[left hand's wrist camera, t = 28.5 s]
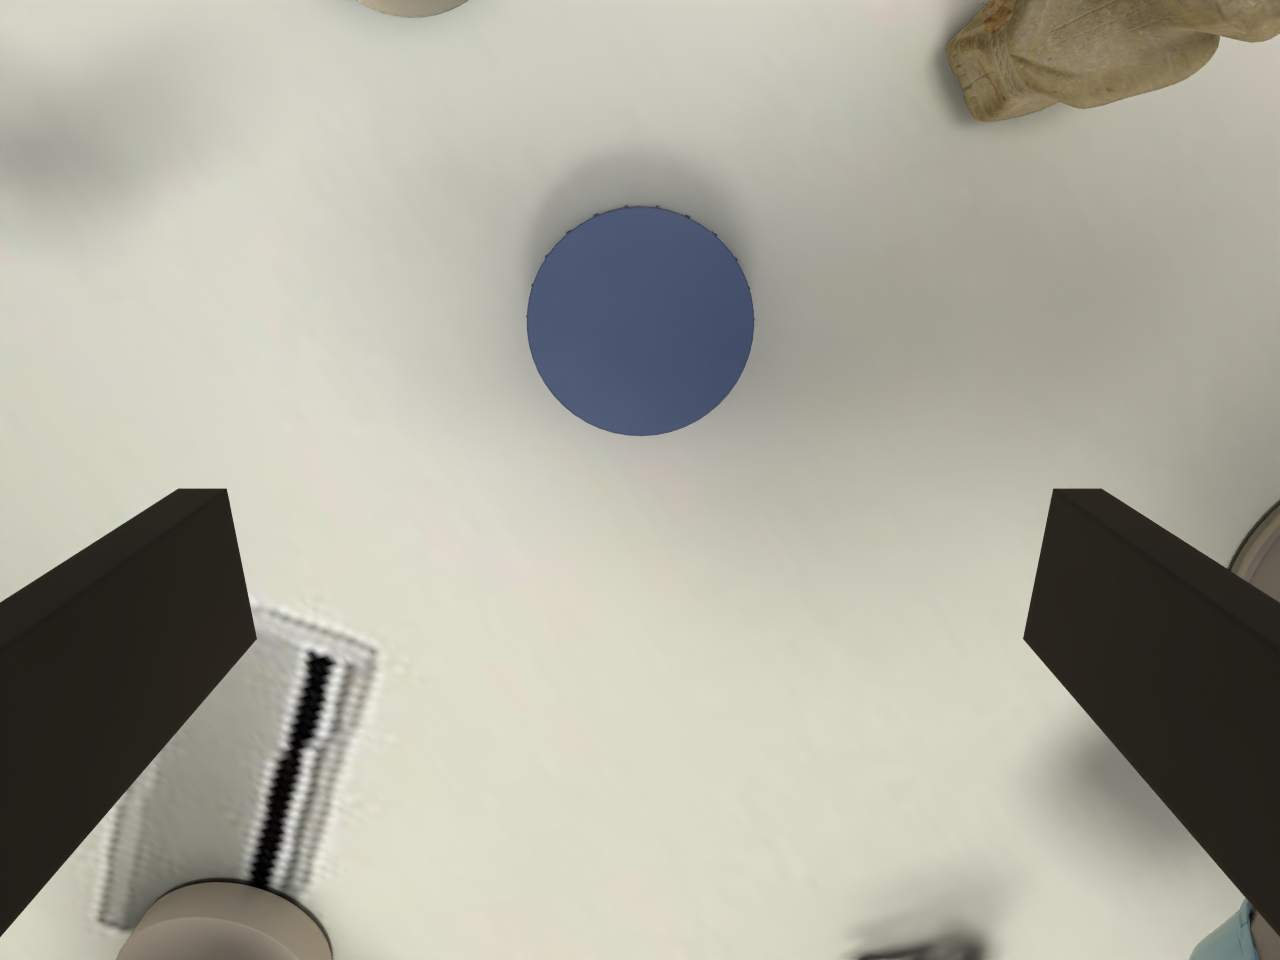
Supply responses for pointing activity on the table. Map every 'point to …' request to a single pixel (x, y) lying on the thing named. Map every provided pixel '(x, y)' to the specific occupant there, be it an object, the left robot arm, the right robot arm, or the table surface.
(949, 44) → the sculpture
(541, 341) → the lid
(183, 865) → the table surface
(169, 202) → the table surface
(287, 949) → the bust sculpture
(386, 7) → the jar
